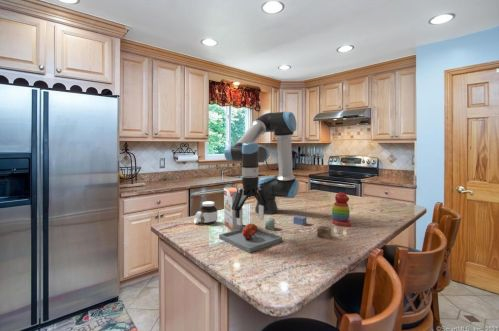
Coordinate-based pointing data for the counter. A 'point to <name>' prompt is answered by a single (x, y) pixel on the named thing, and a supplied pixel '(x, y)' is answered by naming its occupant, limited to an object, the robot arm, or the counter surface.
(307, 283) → the counter surface
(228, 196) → the cracker box
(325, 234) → the walnut block
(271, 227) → the sage block
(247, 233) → the pomegranate
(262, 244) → the tray
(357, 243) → the counter surface
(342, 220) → the stacking bear
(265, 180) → the robot arm
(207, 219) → the spread jar
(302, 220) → the lavender blue block
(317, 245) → the counter surface
